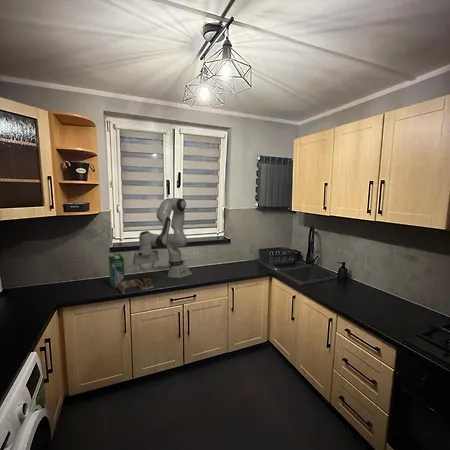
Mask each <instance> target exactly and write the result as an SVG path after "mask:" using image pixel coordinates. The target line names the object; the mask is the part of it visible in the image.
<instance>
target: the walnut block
mask: <svg viewBox="0 0 450 450" xmlns="http://www.w3.org/2000/svg"><path fill="white" fill-rule="evenodd" d="M142 283H143V287H145V288H148V287H151V285H152V279H151V278H149V277H147V278H143V279H142Z"/></svg>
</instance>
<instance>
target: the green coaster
mask: <svg viewBox="0 0 450 450" xmlns="http://www.w3.org/2000/svg"><path fill="white" fill-rule="evenodd" d="M153 288H155V287H154V286H153V285H152V284H151V287H148V288H145V287H143V290H144V289H145V290H149V289H153Z"/></svg>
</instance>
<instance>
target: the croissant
mask: <svg viewBox="0 0 450 450" xmlns="http://www.w3.org/2000/svg"><path fill="white" fill-rule="evenodd" d="M134 287H138V288H139V289H140V290H141V291H143V290H144V289H143V281H141V280H139V278H137V279H136V278H135V279H131V280H130V279H129V280H125V281H124V282H119V287H118V290H119V291H120V292H121V293H122V294H123V295H125V293H126V291H125V290H126V289H129V288H134Z"/></svg>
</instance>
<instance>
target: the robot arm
mask: <svg viewBox="0 0 450 450" xmlns="http://www.w3.org/2000/svg"><path fill="white" fill-rule="evenodd" d="M186 207H187V201H186V200H185V199H184V198H179V197H171V198H169V197H168V198H165V199H164V200H163V201H162V202H161V203H160V205H159V206H158V209H157V211H156V215H155V216H156V218H157V220H158V221H159V222H161V223H162V228H161V231H160V234H159V233H158V234H157V233H152V232H150V231H149V230H144V231H141V232H140V233H139V238H138V239H139V240H138V241H139V243H138V244H139V249H138V250H136V251H135V252H133V258H132V259H133V260H132V261H133V265H134V266H138V267H139V270H140V271H141V270H143V267H142V265H144V264H150V263H152V264H151V266H150V267H151V268H154V267H155V264H156V262H158V261H160V255H159V250H158V249H154V250H152V246H153V247H159V248H164V247H165V246H166V249H167V252H168V272H167V277H168V278H173V279H174V278H175V279H176V278H178V279H182V278H184V277H188V276H190V275H193V273H192V271H190V268H189V266H187V265H186V264H185V263H186V261H185V260H182V252H181V250H180V249H179V247H186V245H187V244H188V237H187V236H186V234H185V232H184V223H185V214H186V213H185V209H186ZM172 211H173V212H172ZM171 213H172V214H171ZM171 215H172V217H171ZM171 218H172V219H171ZM170 229H172V230H173V233H169V232H170Z"/></svg>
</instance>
